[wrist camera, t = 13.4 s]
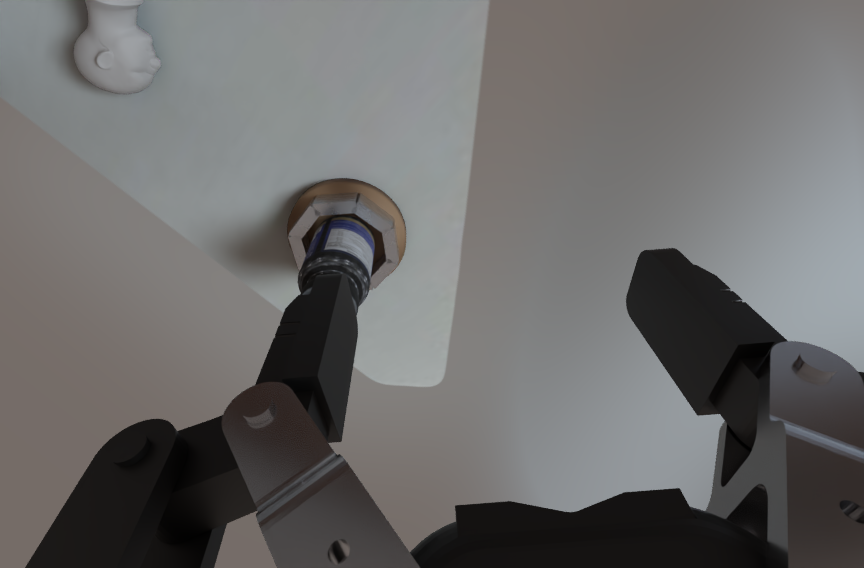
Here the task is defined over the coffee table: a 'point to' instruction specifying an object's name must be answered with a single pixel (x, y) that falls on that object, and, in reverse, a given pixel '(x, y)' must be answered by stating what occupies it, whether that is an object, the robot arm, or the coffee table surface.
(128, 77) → the white head bust
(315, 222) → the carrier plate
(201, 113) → the coffee table surface
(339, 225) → the pill bottle
